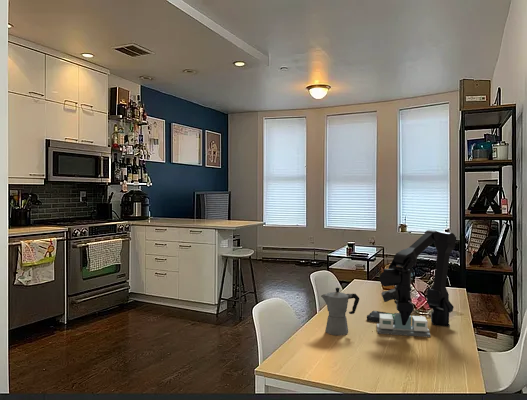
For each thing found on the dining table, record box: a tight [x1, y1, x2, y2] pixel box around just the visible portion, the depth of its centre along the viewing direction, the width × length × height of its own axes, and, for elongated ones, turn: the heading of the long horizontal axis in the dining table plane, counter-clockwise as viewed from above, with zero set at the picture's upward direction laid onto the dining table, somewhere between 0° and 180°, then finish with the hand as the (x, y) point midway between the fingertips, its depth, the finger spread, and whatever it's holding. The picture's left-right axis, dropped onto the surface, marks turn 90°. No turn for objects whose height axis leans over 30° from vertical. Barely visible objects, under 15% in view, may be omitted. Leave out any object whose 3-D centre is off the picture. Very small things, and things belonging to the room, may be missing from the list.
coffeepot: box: [320, 287, 360, 336], centre depth 177 cm, size 15×9×18 cm, turn 90°
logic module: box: [394, 312, 412, 329], centre depth 179 cm, size 6×5×5 cm
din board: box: [376, 314, 432, 338], centre depth 179 cm, size 20×10×6 cm, turn 78°
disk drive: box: [366, 310, 395, 325], centre depth 194 cm, size 10×3×15 cm
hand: (402, 322), depth 179 cm, fingers open, 8 cm apart
